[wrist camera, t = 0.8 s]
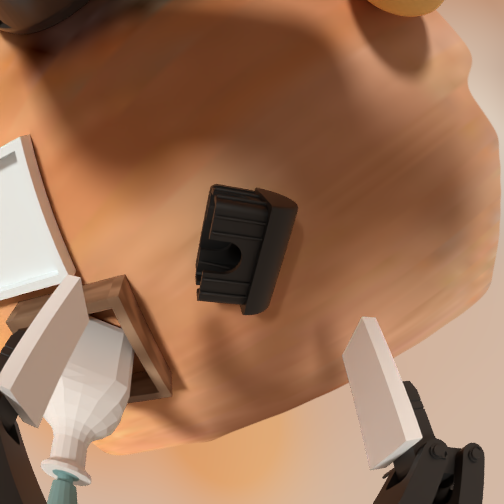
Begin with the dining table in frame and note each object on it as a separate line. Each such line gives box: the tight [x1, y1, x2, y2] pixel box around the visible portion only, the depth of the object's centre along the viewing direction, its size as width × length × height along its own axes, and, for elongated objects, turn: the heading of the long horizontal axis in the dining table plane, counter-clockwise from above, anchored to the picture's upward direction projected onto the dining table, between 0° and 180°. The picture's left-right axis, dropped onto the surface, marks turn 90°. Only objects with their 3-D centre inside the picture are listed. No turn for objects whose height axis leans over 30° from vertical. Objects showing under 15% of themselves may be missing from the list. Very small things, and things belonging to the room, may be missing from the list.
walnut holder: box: [6, 275, 172, 403], centre depth 31 cm, size 15×15×4 cm
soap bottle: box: [41, 315, 135, 504], centre depth 22 cm, size 10×10×23 cm
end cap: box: [195, 184, 298, 315], centre depth 27 cm, size 10×7×7 cm
